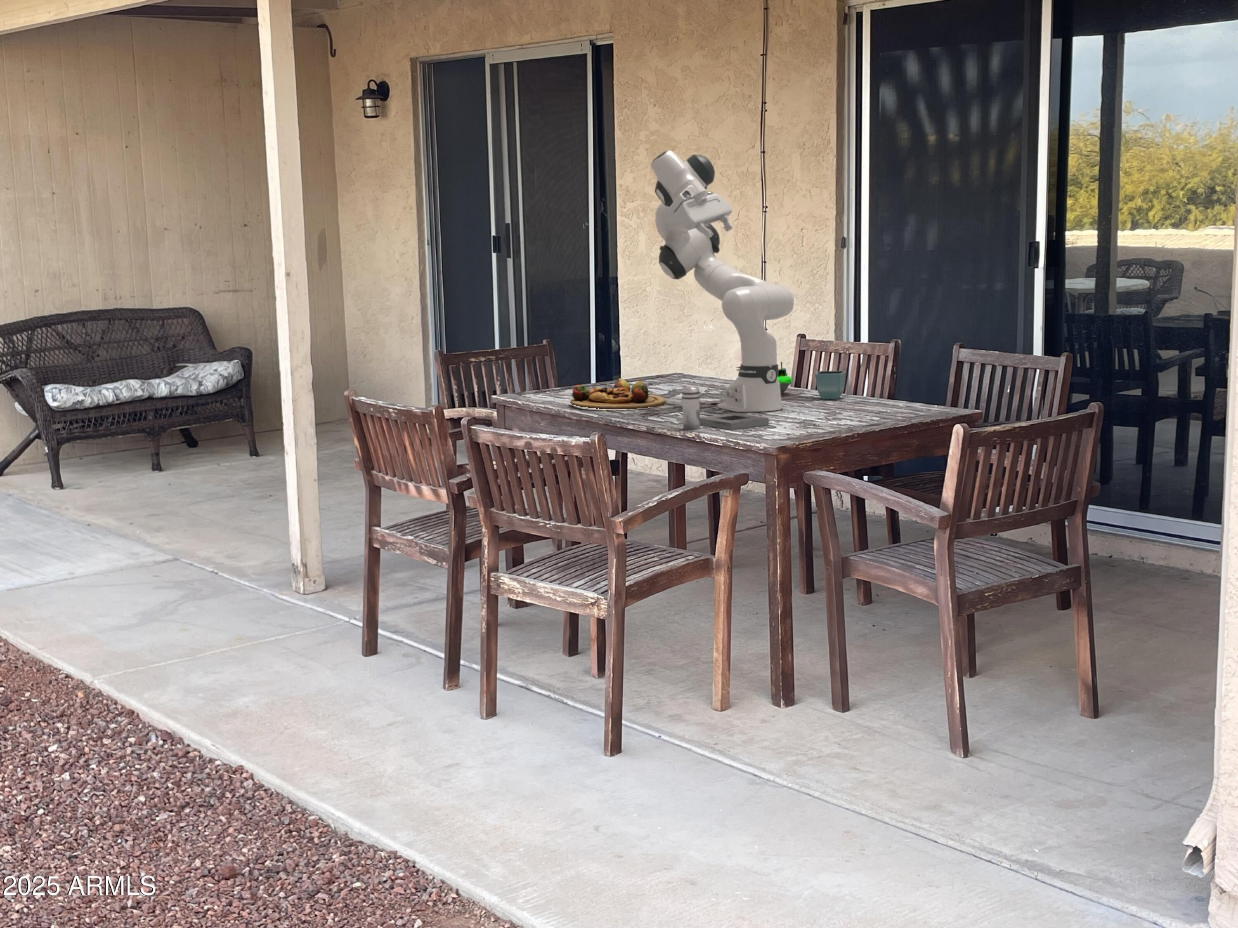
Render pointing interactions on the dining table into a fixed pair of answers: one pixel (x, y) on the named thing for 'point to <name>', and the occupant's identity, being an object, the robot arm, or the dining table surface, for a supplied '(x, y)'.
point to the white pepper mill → (691, 408)
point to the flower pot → (830, 384)
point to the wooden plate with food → (616, 397)
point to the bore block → (733, 421)
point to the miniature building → (783, 379)
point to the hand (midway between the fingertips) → (720, 233)
